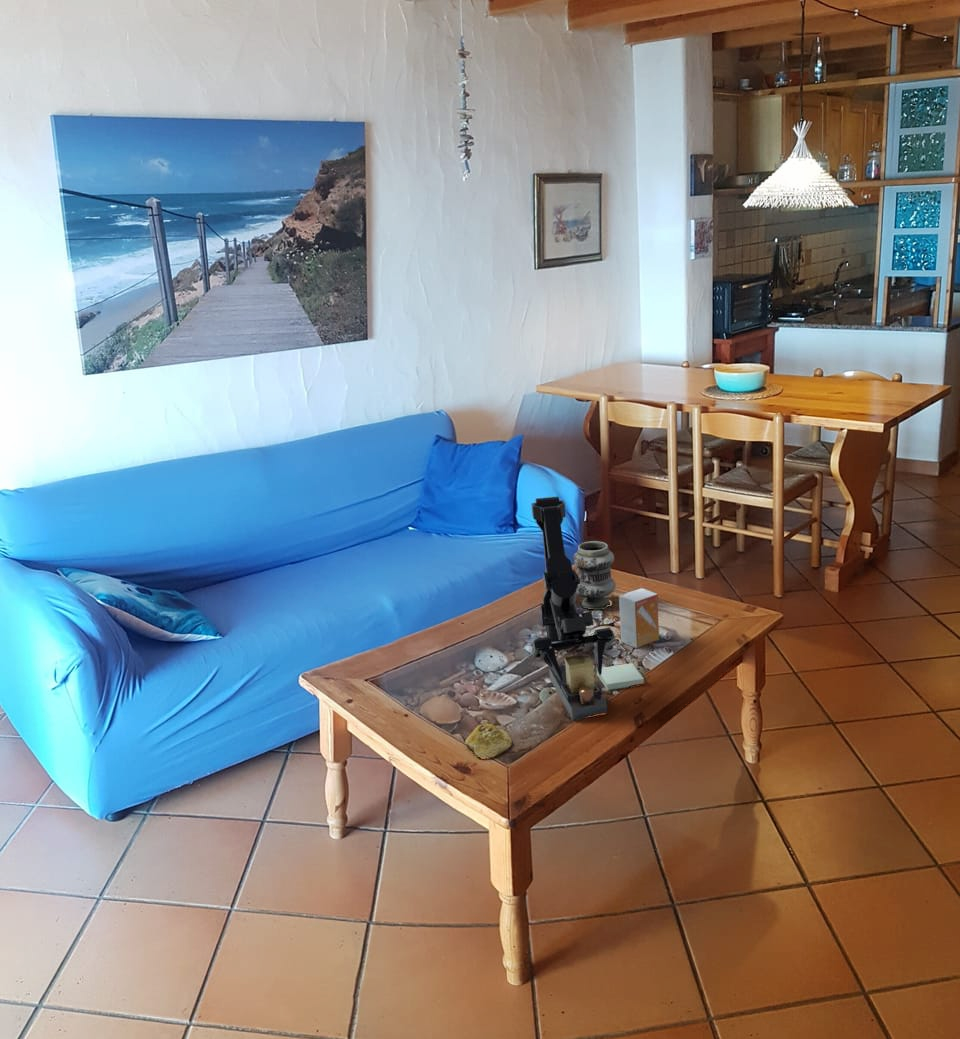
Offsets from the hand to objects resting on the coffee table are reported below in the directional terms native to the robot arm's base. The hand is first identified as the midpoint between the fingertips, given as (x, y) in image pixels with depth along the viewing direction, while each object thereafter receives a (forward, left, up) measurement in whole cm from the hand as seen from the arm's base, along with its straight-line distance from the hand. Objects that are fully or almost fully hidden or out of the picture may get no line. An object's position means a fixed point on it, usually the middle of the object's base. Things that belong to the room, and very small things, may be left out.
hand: (580, 677), depth 219 cm
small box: (-17, +34, -7) cm, 39 cm away
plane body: (-4, +2, -7) cm, 9 cm away
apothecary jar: (-45, +43, -7) cm, 63 cm away
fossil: (0, -26, -8) cm, 27 cm away
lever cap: (-1, 0, -4) cm, 4 cm away
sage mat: (-4, +15, -7) cm, 17 cm away
